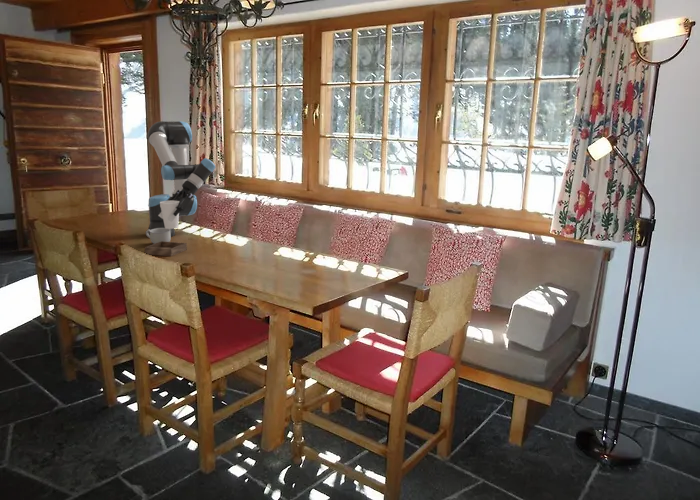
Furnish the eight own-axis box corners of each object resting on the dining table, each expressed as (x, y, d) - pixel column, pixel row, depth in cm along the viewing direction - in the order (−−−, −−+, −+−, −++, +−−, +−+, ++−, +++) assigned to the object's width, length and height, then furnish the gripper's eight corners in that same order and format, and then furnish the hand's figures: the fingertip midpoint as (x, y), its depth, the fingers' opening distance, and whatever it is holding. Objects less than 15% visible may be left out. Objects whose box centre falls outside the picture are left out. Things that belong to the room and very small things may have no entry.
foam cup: (170, 230, 265) (168, 204, 262) (157, 228, 270) (155, 202, 267) (185, 226, 273) (183, 201, 270) (172, 224, 278) (170, 199, 275)
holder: (145, 254, 269) (144, 247, 268) (161, 247, 282) (161, 241, 282) (171, 256, 265) (170, 249, 265) (186, 249, 279) (186, 243, 278)
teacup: (175, 243, 293) (174, 229, 291) (161, 247, 284) (160, 232, 282) (156, 240, 299) (155, 226, 297) (141, 244, 289) (140, 229, 287)
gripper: (208, 191, 270) (180, 226, 263) (187, 187, 285) (160, 219, 279) (197, 181, 265) (169, 217, 258) (177, 177, 280) (150, 210, 274)
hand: (164, 218), depth 268 cm, fingers closed on foam cup, 9 cm apart
